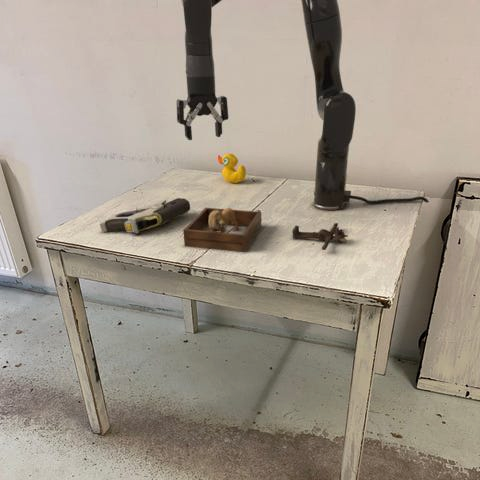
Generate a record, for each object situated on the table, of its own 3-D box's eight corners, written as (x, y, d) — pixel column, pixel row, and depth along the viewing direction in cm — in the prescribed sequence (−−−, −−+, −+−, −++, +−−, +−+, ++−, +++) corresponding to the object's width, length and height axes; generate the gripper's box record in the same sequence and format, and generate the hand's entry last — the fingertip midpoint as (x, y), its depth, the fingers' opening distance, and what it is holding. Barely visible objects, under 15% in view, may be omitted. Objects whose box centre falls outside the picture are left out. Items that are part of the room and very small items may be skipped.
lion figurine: (224, 246, 128) (223, 214, 123) (205, 244, 129) (203, 212, 124) (241, 226, 140) (240, 196, 135) (223, 224, 141) (222, 194, 136)
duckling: (214, 181, 177) (213, 153, 172) (222, 178, 181) (221, 150, 176) (241, 186, 172) (240, 157, 167) (248, 182, 176) (248, 154, 171)
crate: (261, 226, 139) (261, 211, 137) (245, 252, 125) (245, 235, 122) (206, 222, 143) (205, 207, 141) (184, 246, 129) (183, 230, 126)
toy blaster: (94, 217, 137) (129, 222, 128) (157, 192, 153) (192, 195, 144) (100, 236, 139) (134, 242, 131) (161, 209, 155) (195, 213, 147)
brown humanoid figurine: (301, 215, 138) (353, 215, 133) (302, 229, 140) (352, 230, 135) (284, 238, 124) (342, 240, 119) (285, 254, 126) (342, 256, 121)
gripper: (179, 77, 123) (184, 143, 131) (230, 73, 127) (232, 138, 136) (170, 74, 128) (176, 138, 137) (220, 71, 133) (222, 133, 142)
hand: (204, 138), depth 137 cm, fingers open, 8 cm apart
